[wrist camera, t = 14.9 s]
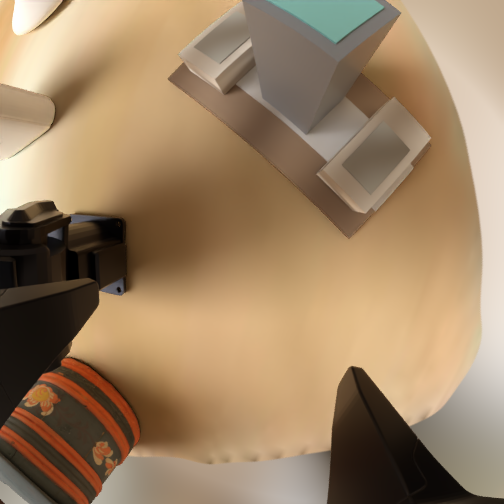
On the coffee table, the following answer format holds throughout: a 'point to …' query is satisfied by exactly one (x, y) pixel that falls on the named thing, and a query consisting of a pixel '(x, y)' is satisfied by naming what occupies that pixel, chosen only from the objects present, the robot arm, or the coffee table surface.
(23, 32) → the flower in vase
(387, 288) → the coffee table surface
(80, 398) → the beer stein
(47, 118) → the photo printer
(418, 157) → the board
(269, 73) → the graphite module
